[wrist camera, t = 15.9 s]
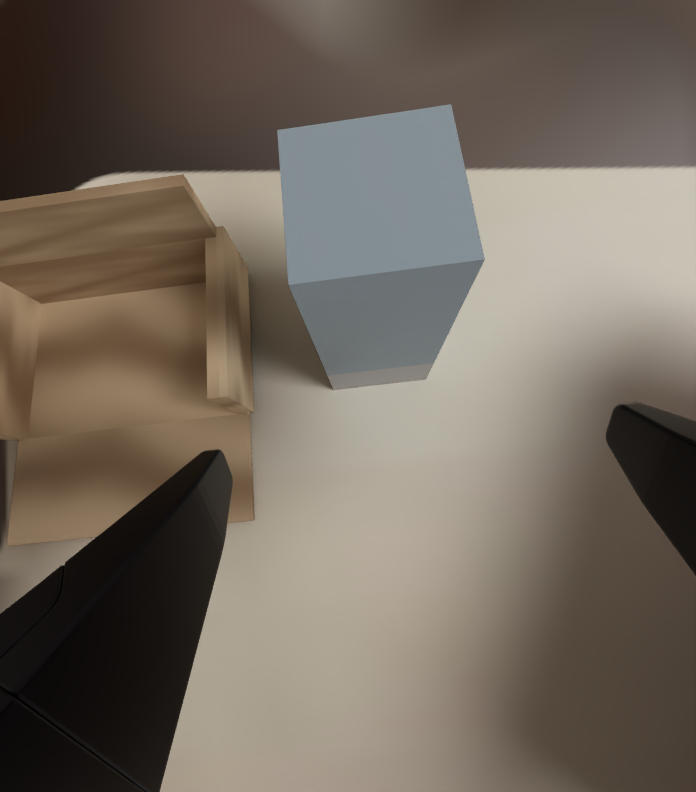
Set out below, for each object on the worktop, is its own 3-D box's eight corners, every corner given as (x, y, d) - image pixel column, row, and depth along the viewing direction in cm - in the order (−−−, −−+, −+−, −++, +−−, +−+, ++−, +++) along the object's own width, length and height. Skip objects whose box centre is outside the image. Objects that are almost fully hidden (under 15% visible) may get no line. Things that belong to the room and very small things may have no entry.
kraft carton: (261, 518, 21) (193, 539, 13) (8, 545, 21) (-203, 580, 13) (250, 272, 24) (192, 172, 17) (35, 301, 25) (-119, 218, 17)
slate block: (425, 379, 22) (484, 259, 10) (333, 389, 22) (288, 284, 10) (412, 295, 23) (450, 104, 12) (325, 306, 23) (277, 130, 12)
